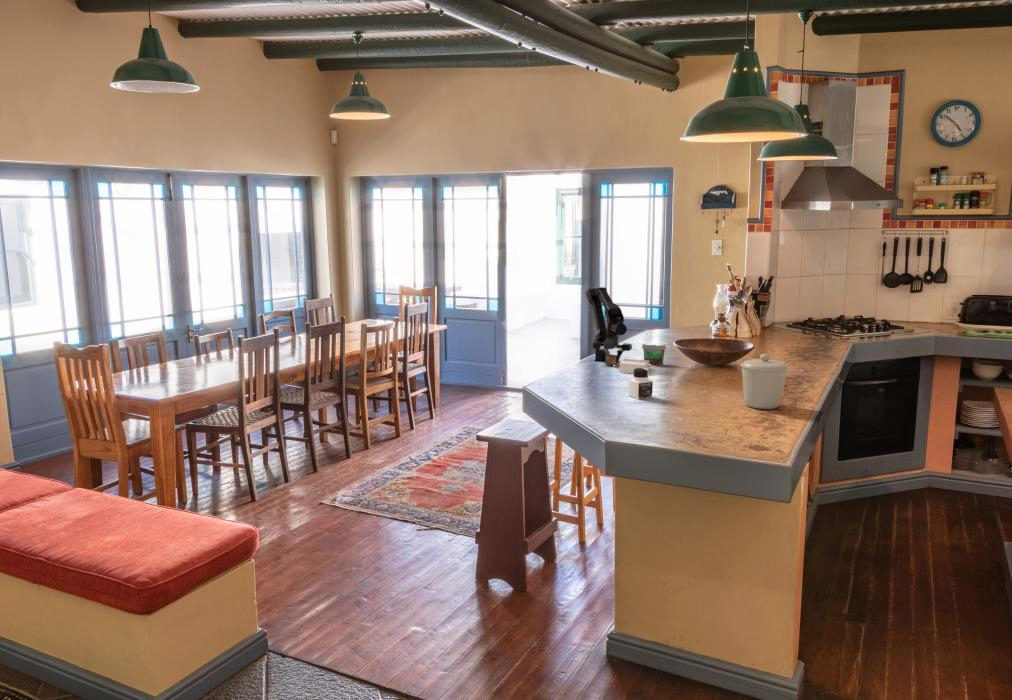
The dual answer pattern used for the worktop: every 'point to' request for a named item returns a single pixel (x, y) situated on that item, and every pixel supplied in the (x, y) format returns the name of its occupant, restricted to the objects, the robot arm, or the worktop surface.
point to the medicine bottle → (640, 384)
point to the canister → (763, 382)
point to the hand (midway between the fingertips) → (611, 363)
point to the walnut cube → (611, 359)
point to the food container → (654, 353)
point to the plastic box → (632, 365)
